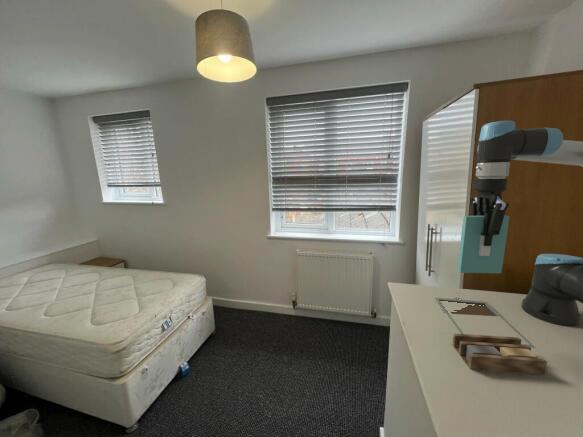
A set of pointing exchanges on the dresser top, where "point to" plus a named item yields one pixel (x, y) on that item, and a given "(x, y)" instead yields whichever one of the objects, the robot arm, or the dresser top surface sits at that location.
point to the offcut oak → (516, 352)
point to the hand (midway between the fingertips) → (481, 254)
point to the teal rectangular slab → (471, 243)
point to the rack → (497, 361)
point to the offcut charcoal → (481, 350)
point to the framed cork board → (476, 312)
